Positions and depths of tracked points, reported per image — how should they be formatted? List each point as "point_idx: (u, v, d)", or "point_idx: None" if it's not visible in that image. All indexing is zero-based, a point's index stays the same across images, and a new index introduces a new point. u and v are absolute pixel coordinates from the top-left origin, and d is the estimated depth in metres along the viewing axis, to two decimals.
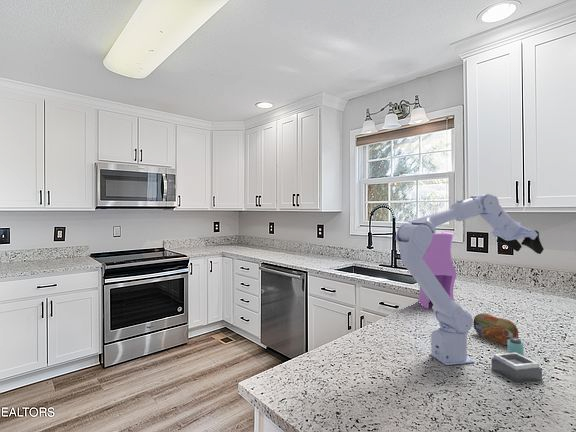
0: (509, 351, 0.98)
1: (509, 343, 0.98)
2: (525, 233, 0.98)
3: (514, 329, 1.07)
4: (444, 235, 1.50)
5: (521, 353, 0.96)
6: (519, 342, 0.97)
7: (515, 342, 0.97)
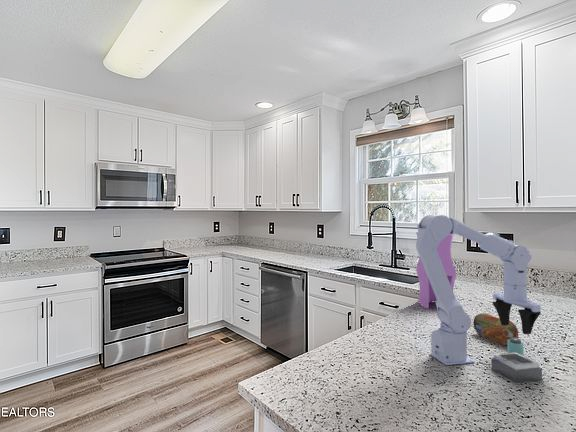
0: (509, 351, 0.98)
1: (509, 343, 0.98)
2: (529, 303, 0.93)
3: (514, 329, 1.07)
4: None
5: (521, 353, 0.96)
6: (519, 342, 0.97)
7: (515, 342, 0.97)
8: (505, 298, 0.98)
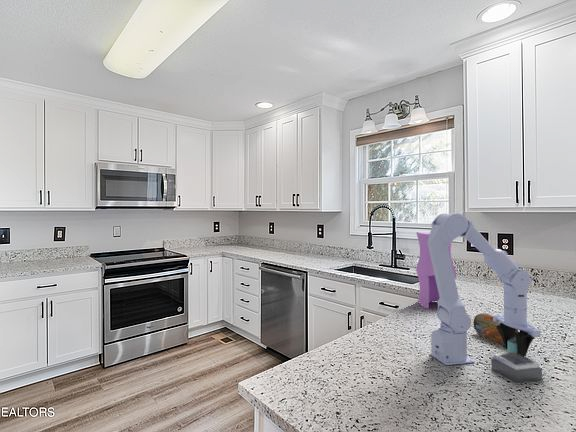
0: (509, 351, 0.98)
1: (509, 343, 0.98)
2: (529, 328, 0.93)
3: None
4: None
5: None
6: None
7: (515, 342, 0.97)
8: (505, 321, 0.98)
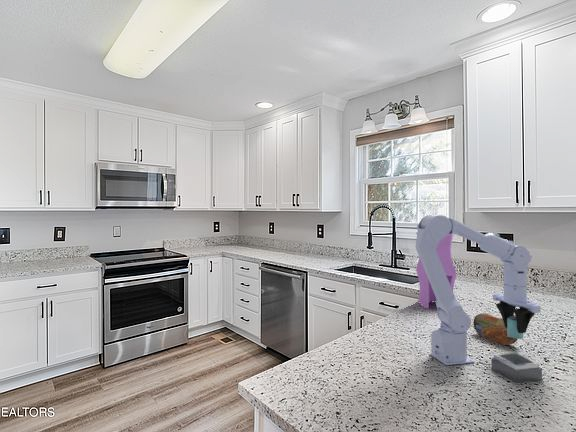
0: (509, 328, 0.98)
1: (509, 320, 0.98)
2: (529, 304, 0.93)
3: None
4: None
5: None
6: None
7: (515, 319, 0.97)
8: (505, 299, 0.98)
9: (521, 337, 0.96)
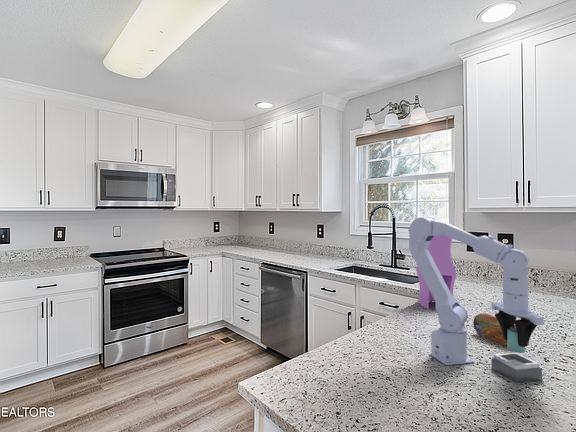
0: (509, 341, 0.89)
1: (509, 332, 0.89)
2: (531, 315, 0.84)
3: None
4: (444, 235, 1.50)
5: None
6: None
7: (516, 331, 0.88)
8: (504, 308, 0.89)
9: (523, 351, 0.87)
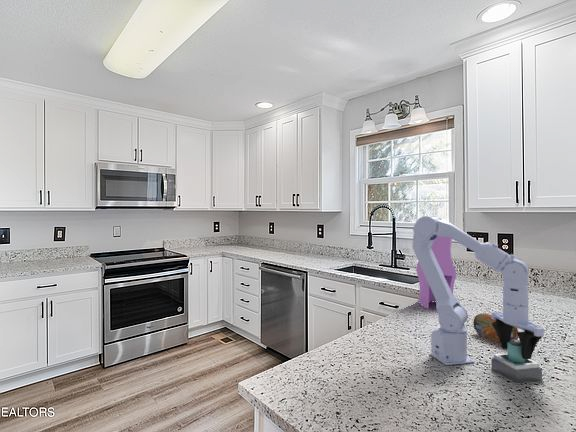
0: (509, 354, 0.89)
1: (509, 346, 0.89)
2: (531, 326, 0.84)
3: (514, 329, 1.07)
4: None
5: None
6: (520, 344, 0.88)
7: (516, 344, 0.88)
8: (504, 319, 0.89)
9: None
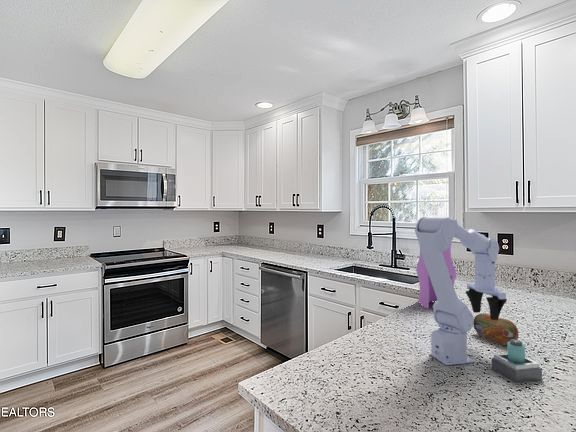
0: (509, 354, 0.89)
1: (509, 346, 0.89)
2: (496, 292, 1.02)
3: (514, 329, 1.07)
4: None
5: (523, 357, 0.87)
6: (520, 344, 0.88)
7: (516, 344, 0.88)
8: (476, 287, 1.07)
9: None
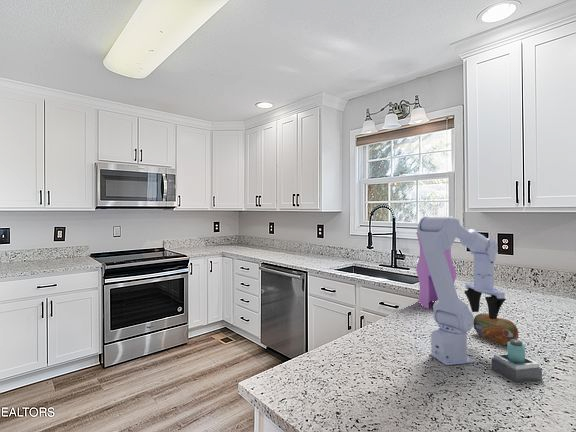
0: (509, 354, 0.89)
1: (509, 346, 0.89)
2: (495, 291, 1.03)
3: (514, 329, 1.07)
4: None
5: (523, 357, 0.87)
6: (520, 344, 0.88)
7: (516, 344, 0.88)
8: (474, 287, 1.08)
9: None
